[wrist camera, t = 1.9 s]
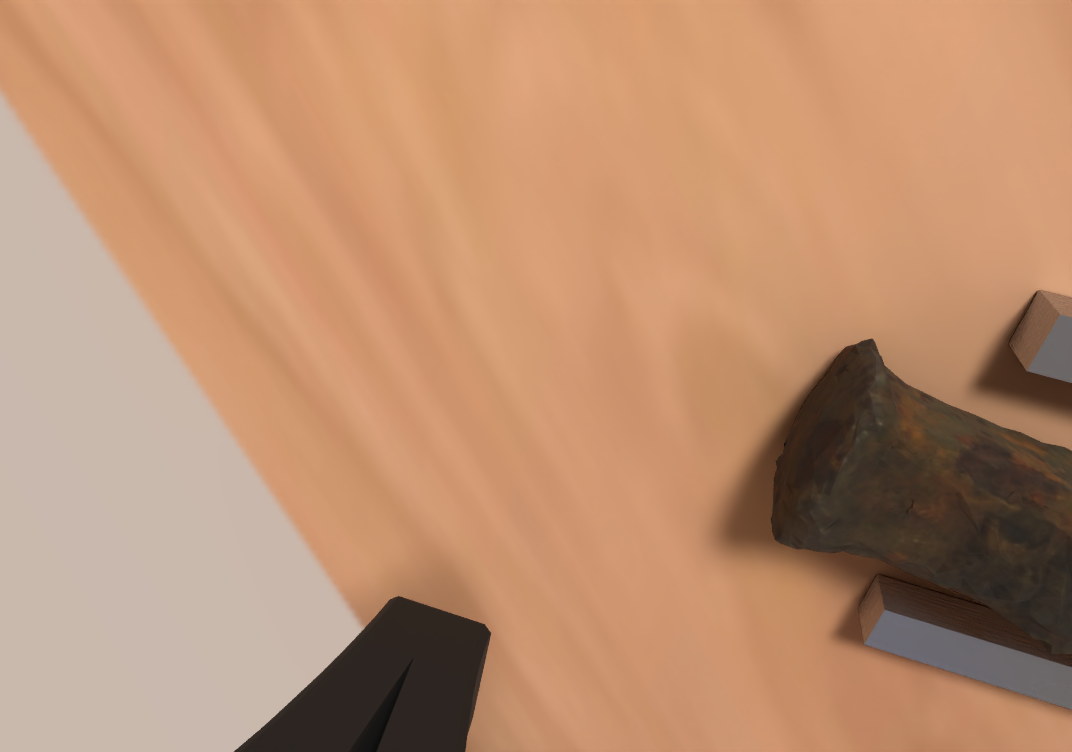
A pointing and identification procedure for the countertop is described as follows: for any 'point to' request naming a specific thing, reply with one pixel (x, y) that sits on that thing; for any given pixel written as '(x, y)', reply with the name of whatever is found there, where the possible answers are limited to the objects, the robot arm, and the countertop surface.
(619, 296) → the countertop surface
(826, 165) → the countertop surface
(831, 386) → the dark brown log
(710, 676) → the countertop surface
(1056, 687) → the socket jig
